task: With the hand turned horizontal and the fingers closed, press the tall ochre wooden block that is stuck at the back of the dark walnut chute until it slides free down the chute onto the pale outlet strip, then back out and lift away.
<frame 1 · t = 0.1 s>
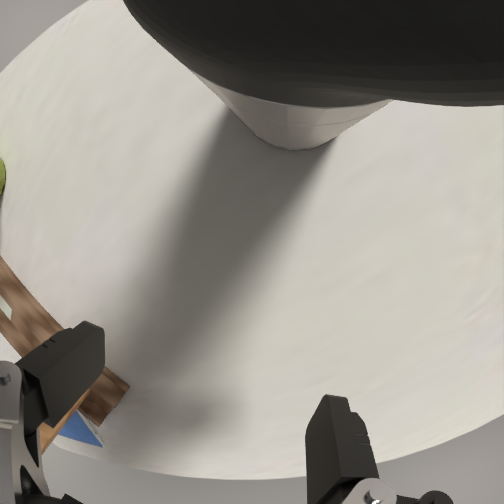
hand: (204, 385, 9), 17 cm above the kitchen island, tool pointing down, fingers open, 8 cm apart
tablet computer: (60, 414, 40), on the kitchen island
jammed block: (46, 406, 25), point 9 cm above the kitchen island, slide at 0.0 cm
chute: (41, 332, 33), on the kitchen island
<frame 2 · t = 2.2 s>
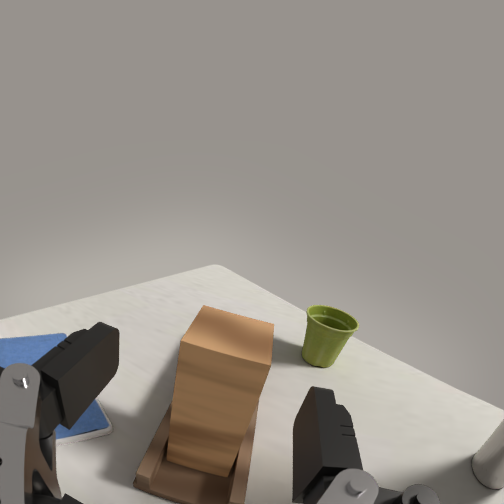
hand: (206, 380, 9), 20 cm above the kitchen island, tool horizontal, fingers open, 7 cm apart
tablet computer: (43, 387, 26), on the kitchen island
jammed block: (214, 402, 23), point 9 cm above the kitchen island, slide at 0.0 cm
plant pot: (316, 359, 49), on the kitchen island
chute: (216, 407, 32), on the kitchen island
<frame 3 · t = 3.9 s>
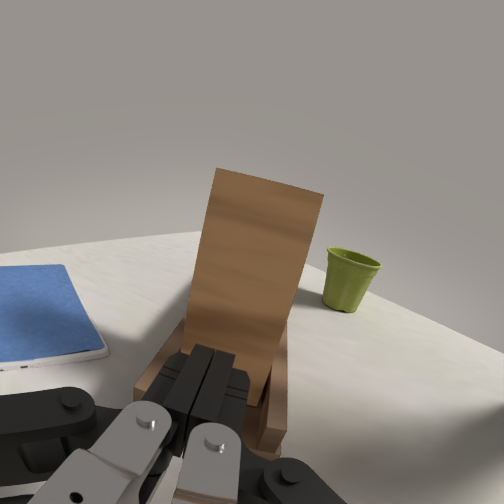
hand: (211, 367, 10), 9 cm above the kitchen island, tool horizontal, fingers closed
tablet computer: (30, 312, 23), on the kitchen island
jammed block: (244, 289, 20), point 9 cm above the kitchen island, slide at 0.0 cm
plant pot: (338, 306, 47), on the kitchen island
chute: (235, 337, 30), on the kitchen island
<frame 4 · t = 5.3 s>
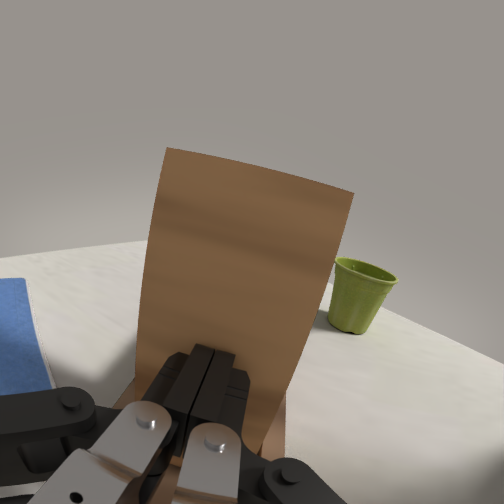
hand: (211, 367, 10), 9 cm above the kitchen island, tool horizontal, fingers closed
jammed block: (223, 335, 13), point 9 cm above the kitchen island, slide at 0.3 cm, touching gripper
plant pot: (345, 325, 40), on the kitchen island
chute: (220, 377, 23), on the kitchen island
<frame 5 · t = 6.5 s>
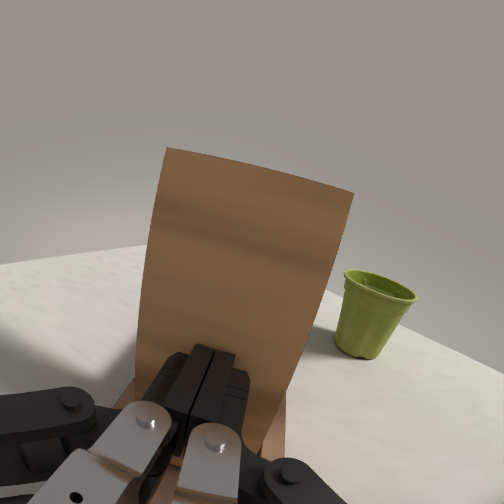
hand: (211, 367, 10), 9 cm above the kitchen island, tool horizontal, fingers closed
jammed block: (223, 335, 13), point 9 cm above the kitchen island, slide at 6.7 cm, touching gripper
plant pot: (355, 348, 33), on the kitchen island
chute: (202, 430, 16), on the kitchen island
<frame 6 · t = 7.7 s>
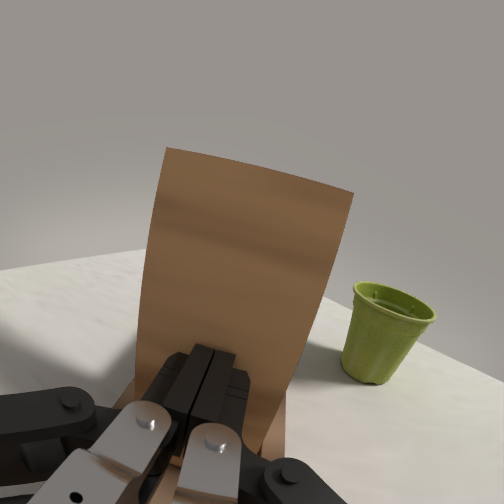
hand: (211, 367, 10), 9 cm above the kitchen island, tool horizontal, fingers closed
jammed block: (223, 335, 13), point 9 cm above the kitchen island, slide at 11.8 cm, touching gripper
plant pot: (363, 371, 28), on the kitchen island
chute: (182, 487, 12), on the kitchen island
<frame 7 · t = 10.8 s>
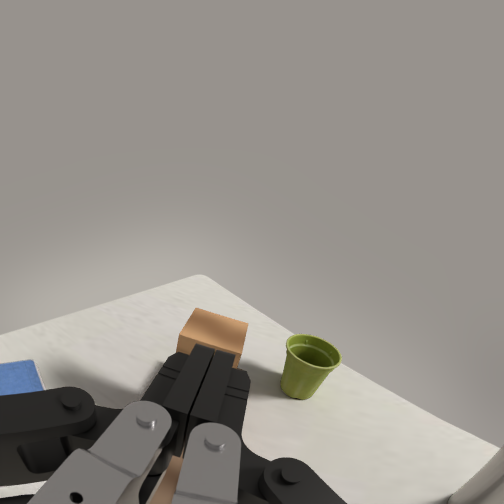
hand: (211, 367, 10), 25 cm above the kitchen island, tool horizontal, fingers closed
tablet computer: (14, 419, 21), on the kitchen island
jammed block: (202, 381, 31), point 9 cm above the kitchen island, slide at 11.9 cm
plant pot: (295, 389, 46), on the kitchen island
chute: (184, 446, 29), on the kitchen island
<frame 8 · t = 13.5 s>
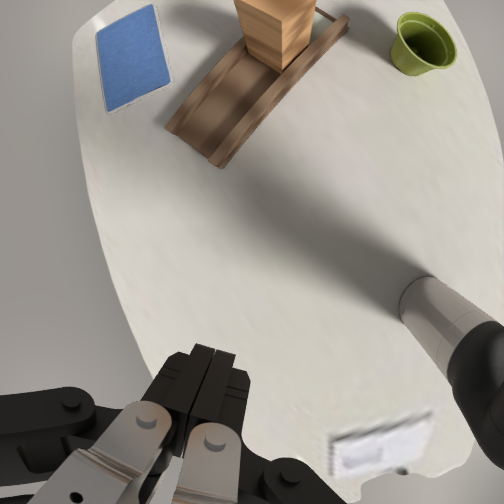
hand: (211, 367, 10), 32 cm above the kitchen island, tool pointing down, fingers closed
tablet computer: (132, 56, 38), on the kitchen island
jammed block: (277, 25, 27), point 9 cm above the kitchen island, slide at 11.9 cm
plant pot: (406, 60, 33), on the kitchen island
chute: (261, 71, 36), on the kitchen island
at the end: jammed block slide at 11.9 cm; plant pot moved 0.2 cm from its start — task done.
